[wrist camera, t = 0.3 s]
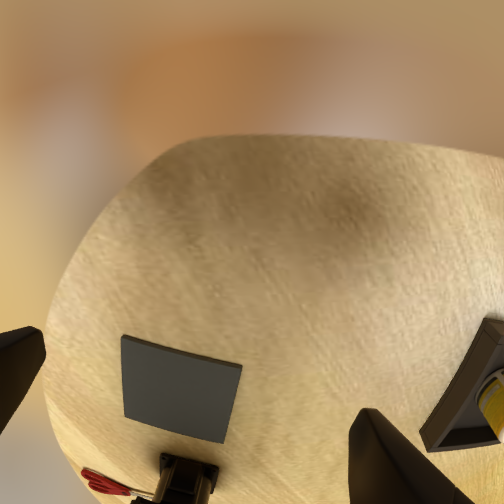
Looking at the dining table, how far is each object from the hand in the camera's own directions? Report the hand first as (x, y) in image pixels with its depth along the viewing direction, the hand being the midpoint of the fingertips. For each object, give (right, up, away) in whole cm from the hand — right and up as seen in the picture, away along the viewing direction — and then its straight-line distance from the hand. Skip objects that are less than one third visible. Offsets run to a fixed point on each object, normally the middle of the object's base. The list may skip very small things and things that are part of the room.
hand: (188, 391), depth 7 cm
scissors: (-15, -29, +25) cm, 42 cm away
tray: (+26, -10, +16) cm, 32 cm away
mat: (-5, -9, +18) cm, 21 cm away
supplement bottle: (+25, -10, +16) cm, 31 cm away
